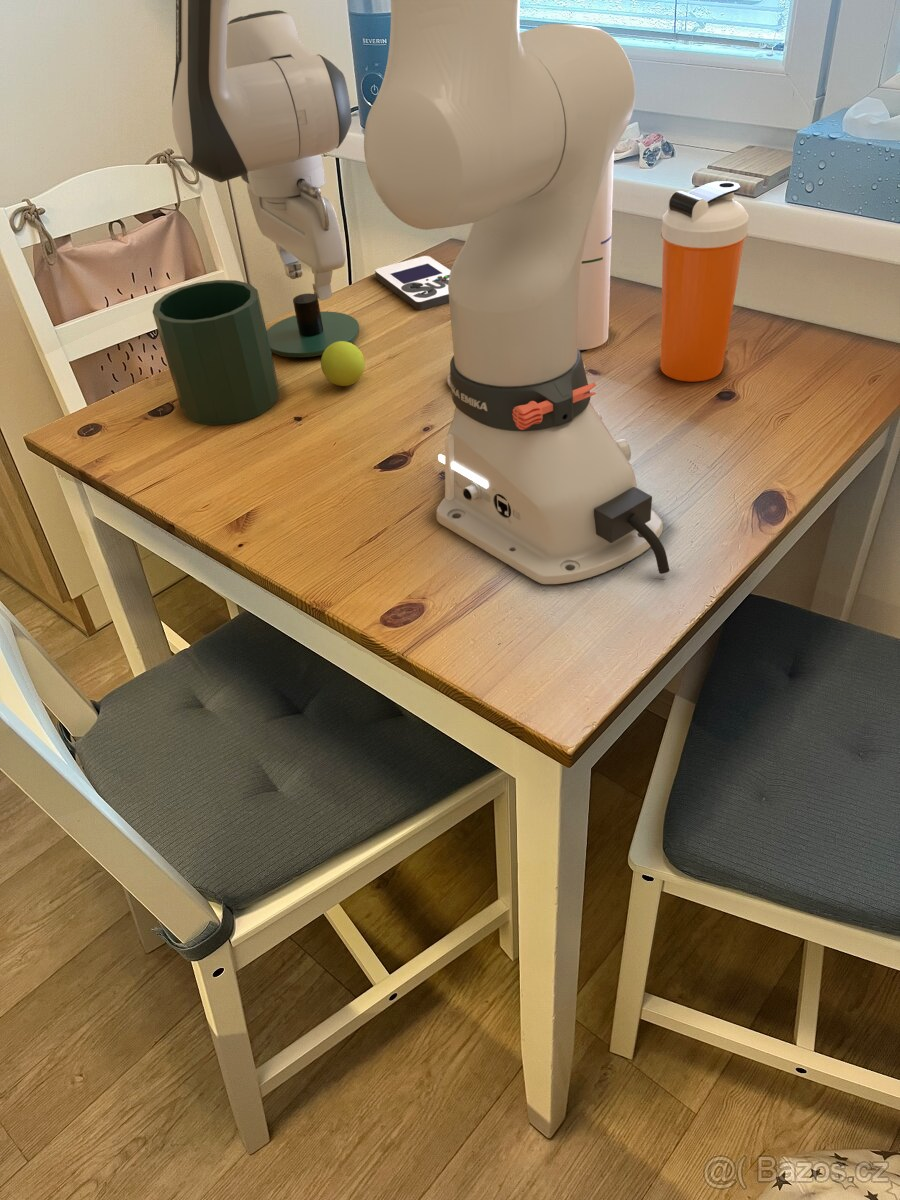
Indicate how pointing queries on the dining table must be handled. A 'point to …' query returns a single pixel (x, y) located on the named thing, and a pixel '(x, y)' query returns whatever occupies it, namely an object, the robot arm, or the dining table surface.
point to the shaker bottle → (699, 278)
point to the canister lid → (310, 329)
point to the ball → (342, 363)
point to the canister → (217, 351)
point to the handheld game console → (417, 281)
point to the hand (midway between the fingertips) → (308, 287)
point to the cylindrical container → (596, 269)
